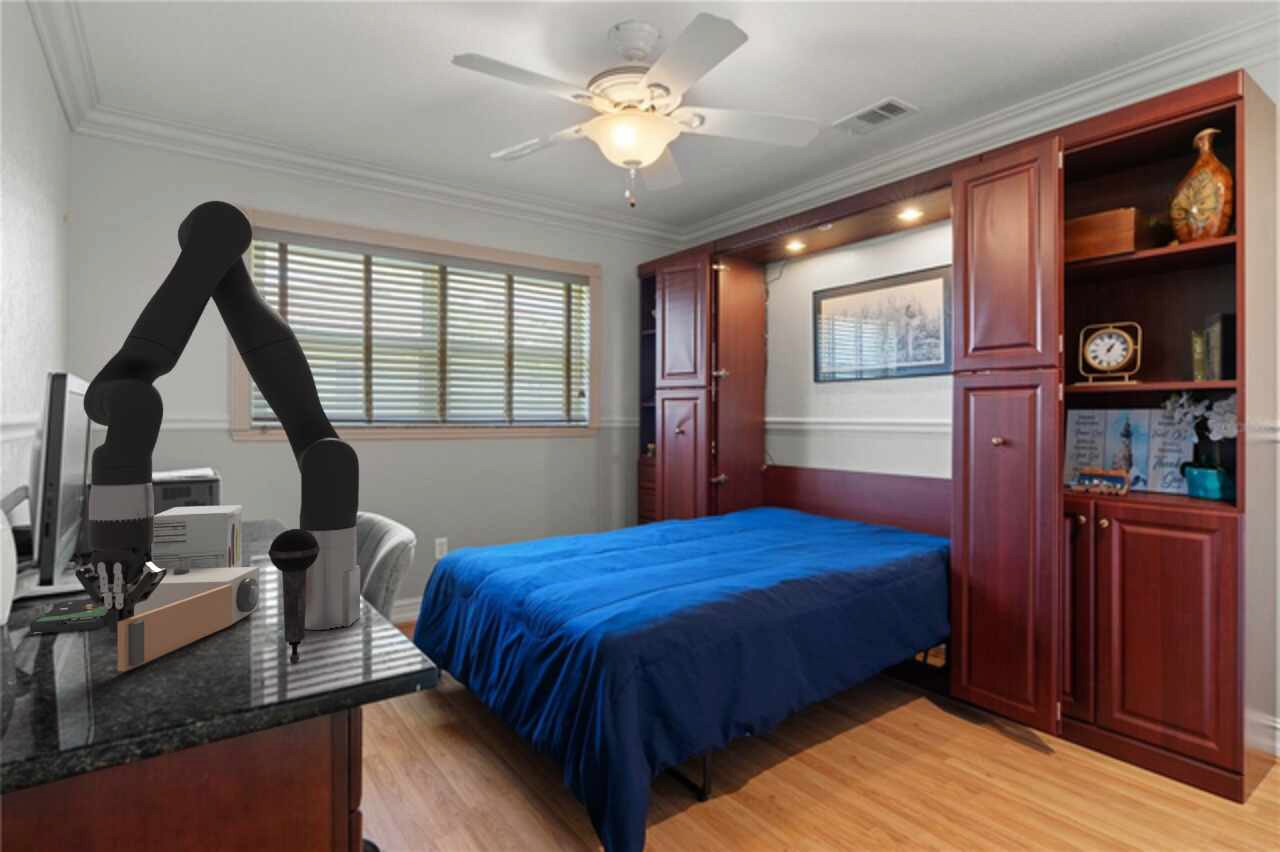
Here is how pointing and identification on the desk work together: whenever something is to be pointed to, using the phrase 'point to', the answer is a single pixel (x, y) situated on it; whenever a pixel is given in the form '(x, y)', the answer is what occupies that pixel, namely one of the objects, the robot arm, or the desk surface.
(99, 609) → the disk drive
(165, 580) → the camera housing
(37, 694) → the desk surface
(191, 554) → the supplement box
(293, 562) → the microphone
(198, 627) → the door
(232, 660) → the desk surface
